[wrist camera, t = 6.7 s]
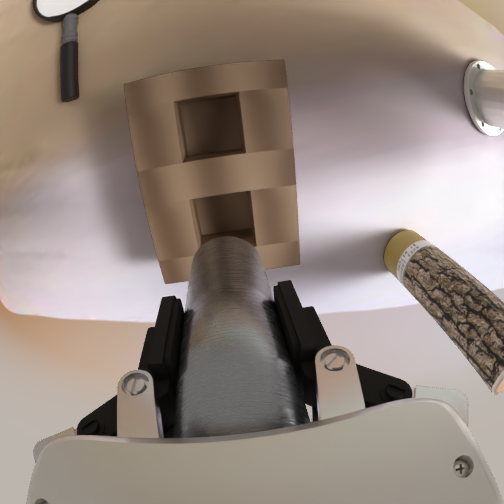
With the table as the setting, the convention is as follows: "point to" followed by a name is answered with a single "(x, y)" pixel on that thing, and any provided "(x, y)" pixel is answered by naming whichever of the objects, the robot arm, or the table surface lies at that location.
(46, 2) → the magnifying glass
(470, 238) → the table surface
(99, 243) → the table surface
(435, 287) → the bark pattern cylinder
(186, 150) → the brown rectangular block
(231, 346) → the steel pin
